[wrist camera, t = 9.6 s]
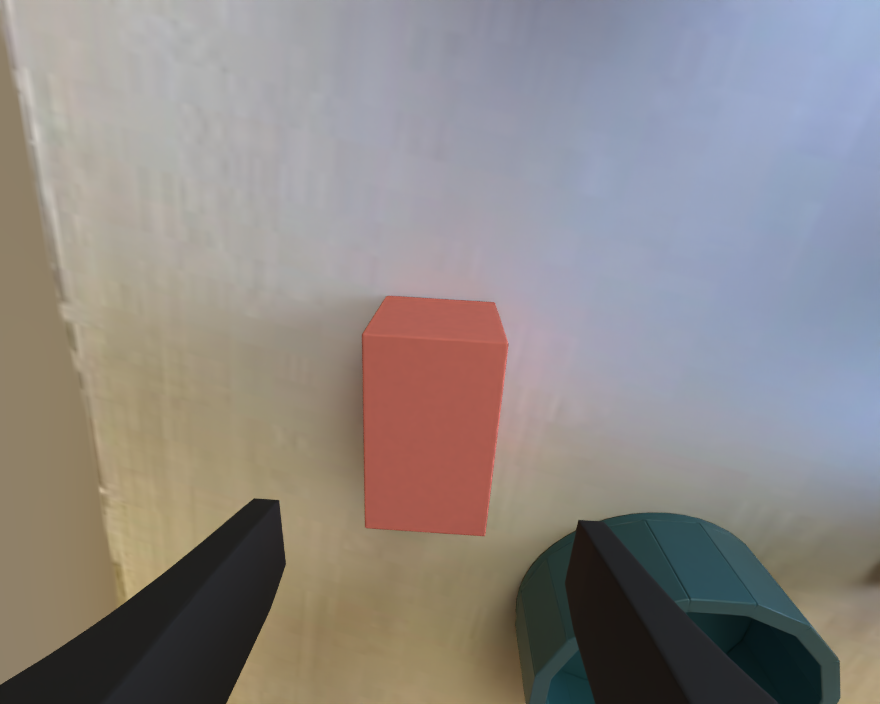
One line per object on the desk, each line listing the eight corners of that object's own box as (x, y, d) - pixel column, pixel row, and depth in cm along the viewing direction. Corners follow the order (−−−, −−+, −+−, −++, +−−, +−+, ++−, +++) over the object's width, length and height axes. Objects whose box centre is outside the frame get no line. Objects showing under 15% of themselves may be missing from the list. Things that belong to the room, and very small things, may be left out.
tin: (503, 675, 24) (513, 777, 20) (532, 503, 20) (553, 589, 15) (720, 691, 24) (777, 798, 20) (801, 521, 19) (896, 614, 15)
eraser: (478, 458, 19) (485, 537, 15) (385, 452, 19) (364, 528, 15) (495, 301, 16) (509, 342, 12) (386, 295, 16) (361, 333, 12)
